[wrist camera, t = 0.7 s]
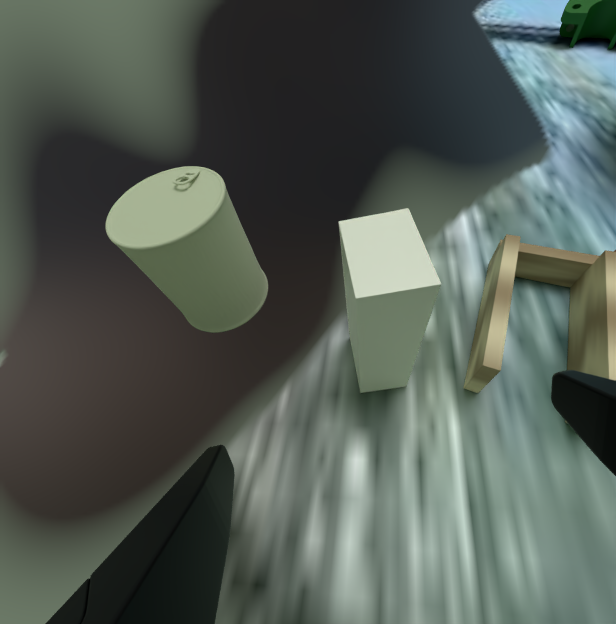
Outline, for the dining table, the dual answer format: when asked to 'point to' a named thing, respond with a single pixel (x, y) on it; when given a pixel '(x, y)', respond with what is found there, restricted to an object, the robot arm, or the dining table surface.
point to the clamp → (589, 20)
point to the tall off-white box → (386, 296)
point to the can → (191, 246)
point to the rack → (582, 316)
